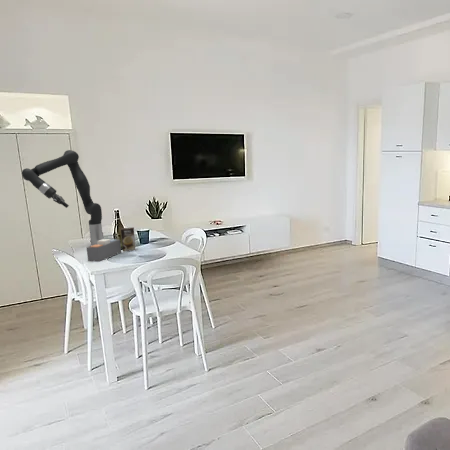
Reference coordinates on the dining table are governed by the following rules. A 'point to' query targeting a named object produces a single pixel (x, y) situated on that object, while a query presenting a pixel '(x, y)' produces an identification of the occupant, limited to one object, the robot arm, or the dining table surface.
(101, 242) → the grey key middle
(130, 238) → the coffee box
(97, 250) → the block
